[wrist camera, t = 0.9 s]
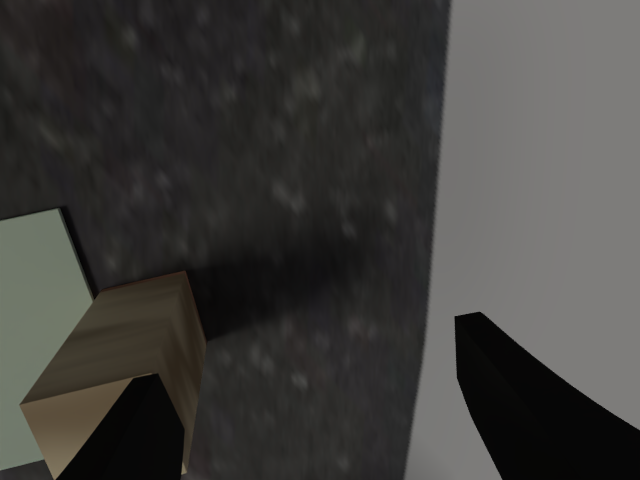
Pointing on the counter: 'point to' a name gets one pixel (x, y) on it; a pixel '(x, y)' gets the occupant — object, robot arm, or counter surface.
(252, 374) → the counter surface
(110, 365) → the maple block
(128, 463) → the robot arm
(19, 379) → the mat
